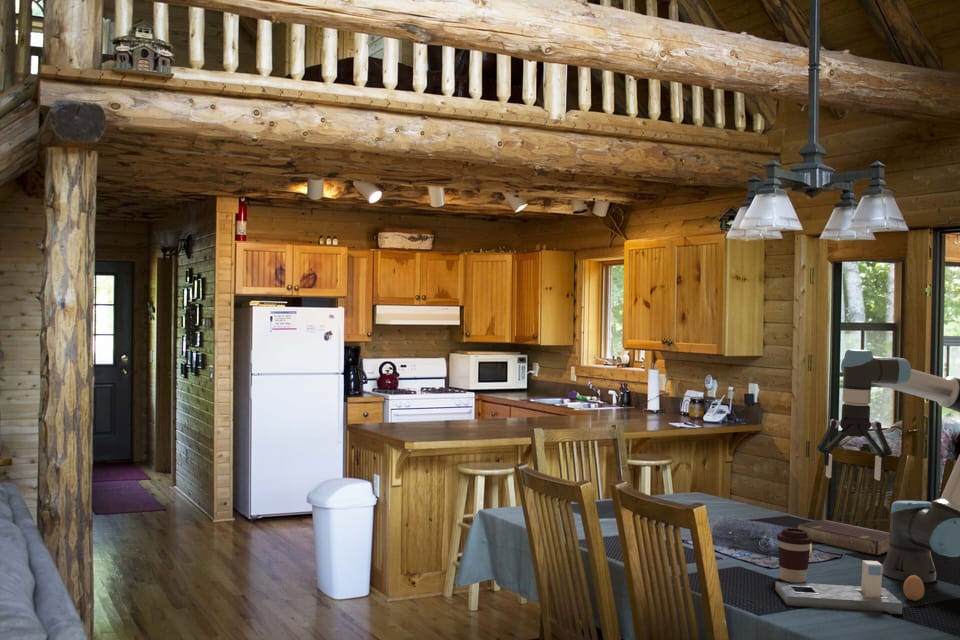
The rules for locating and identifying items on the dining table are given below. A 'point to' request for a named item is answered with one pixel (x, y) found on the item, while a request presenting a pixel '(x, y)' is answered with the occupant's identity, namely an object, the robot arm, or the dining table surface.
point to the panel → (836, 597)
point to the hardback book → (848, 536)
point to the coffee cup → (794, 554)
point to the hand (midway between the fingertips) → (852, 478)
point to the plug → (871, 578)
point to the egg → (913, 588)
